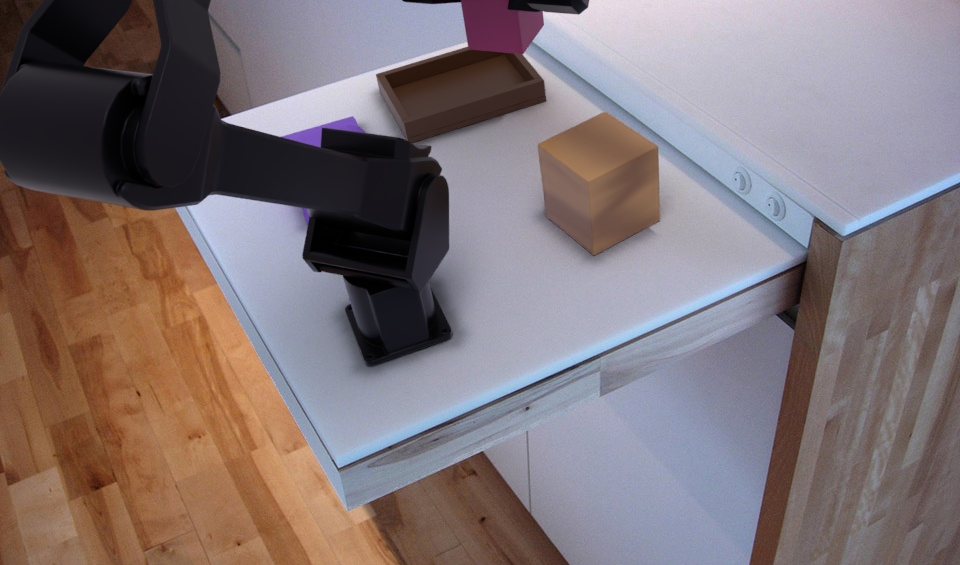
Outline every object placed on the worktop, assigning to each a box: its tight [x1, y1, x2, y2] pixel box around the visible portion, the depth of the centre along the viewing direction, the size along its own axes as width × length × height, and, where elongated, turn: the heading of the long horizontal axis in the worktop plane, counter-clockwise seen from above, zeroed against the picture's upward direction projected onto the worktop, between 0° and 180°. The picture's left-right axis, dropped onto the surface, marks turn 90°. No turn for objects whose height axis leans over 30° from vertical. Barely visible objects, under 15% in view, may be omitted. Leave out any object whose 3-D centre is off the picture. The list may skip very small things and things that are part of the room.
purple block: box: [281, 115, 367, 226], centre depth 87 cm, size 12×7×7 cm, turn 18°
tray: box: [375, 46, 547, 143], centre depth 96 cm, size 10×13×2 cm
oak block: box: [537, 111, 661, 256], centre depth 78 cm, size 6×6×7 cm
